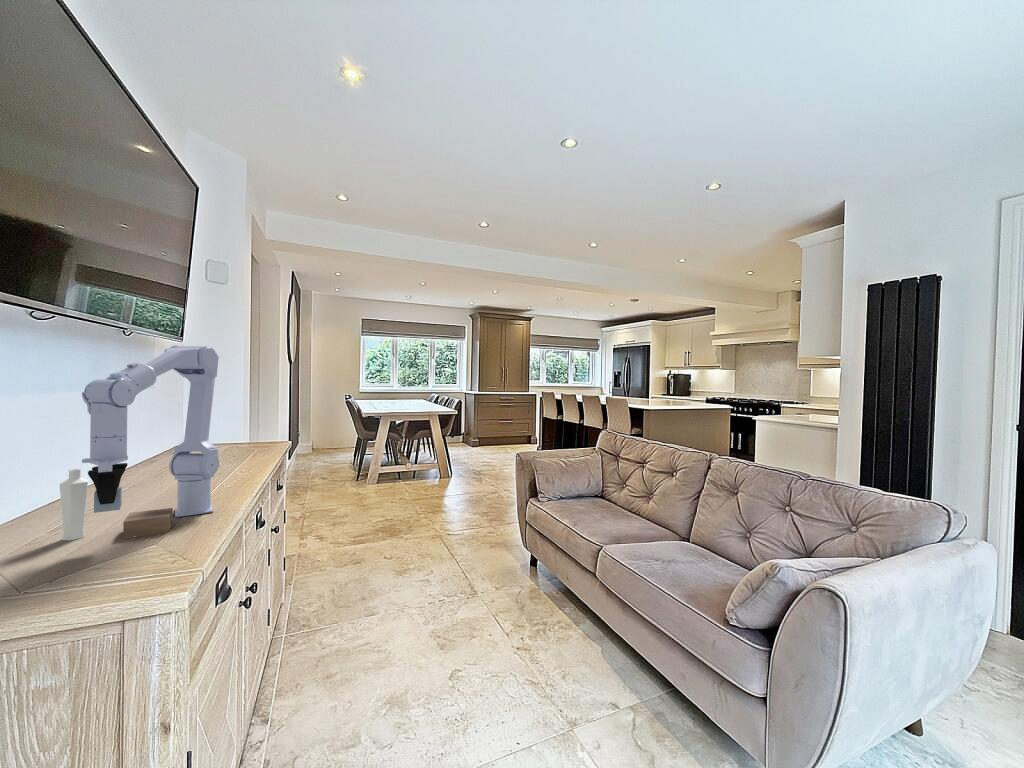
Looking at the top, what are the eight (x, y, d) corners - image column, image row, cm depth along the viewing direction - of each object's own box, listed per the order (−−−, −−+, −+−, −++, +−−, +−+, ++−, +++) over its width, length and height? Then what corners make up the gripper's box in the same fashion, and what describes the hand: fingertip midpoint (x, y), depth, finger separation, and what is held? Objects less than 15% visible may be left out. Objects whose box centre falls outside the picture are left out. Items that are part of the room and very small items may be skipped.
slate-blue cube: (96, 508, 93) (96, 489, 93) (121, 505, 96) (121, 486, 96) (93, 512, 90) (94, 493, 90) (120, 509, 92) (120, 490, 92)
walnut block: (129, 529, 104) (129, 512, 104) (172, 524, 108) (172, 507, 108) (123, 539, 97) (123, 521, 97) (169, 533, 102) (169, 516, 102)
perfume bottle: (82, 532, 101) (83, 466, 101) (91, 536, 99) (93, 468, 99) (55, 539, 96) (56, 470, 96) (64, 542, 94) (65, 472, 95)
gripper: (87, 434, 96) (86, 496, 96) (77, 441, 85) (76, 512, 85) (130, 432, 100) (129, 492, 100) (126, 438, 89) (125, 506, 89)
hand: (108, 501), depth 93 cm, fingers closed on slate-blue cube, 4 cm apart
